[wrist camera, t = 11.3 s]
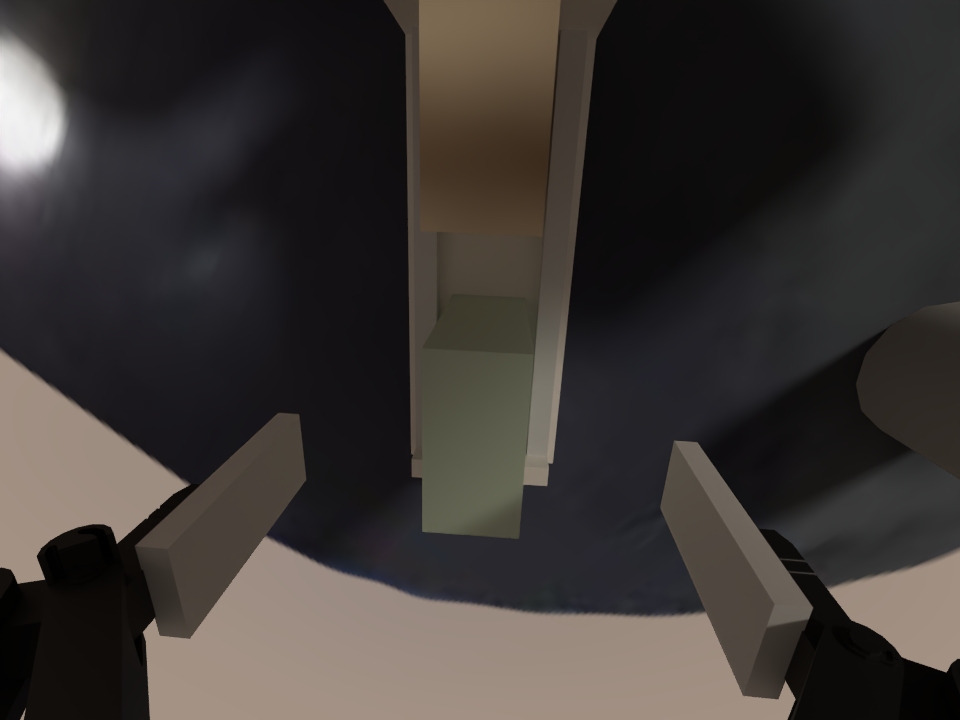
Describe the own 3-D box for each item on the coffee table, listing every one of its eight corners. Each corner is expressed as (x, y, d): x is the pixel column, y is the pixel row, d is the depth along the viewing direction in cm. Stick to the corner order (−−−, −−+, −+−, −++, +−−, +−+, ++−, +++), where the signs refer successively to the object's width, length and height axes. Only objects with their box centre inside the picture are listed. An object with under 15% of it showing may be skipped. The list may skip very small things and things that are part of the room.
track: (409, 12, 23) (290, -208, 10) (595, 16, 22) (701, -208, 10) (414, 446, 31) (349, 612, 18) (551, 455, 30) (579, 630, 18)
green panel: (453, 294, 26) (421, 348, 17) (524, 297, 26) (533, 354, 16) (451, 422, 29) (422, 531, 19) (515, 426, 29) (518, 538, 19)
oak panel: (457, 43, 22) (418, -73, 13) (542, 45, 22) (566, -71, 12) (454, 218, 25) (420, 231, 15) (529, 221, 25) (542, 236, 15)
